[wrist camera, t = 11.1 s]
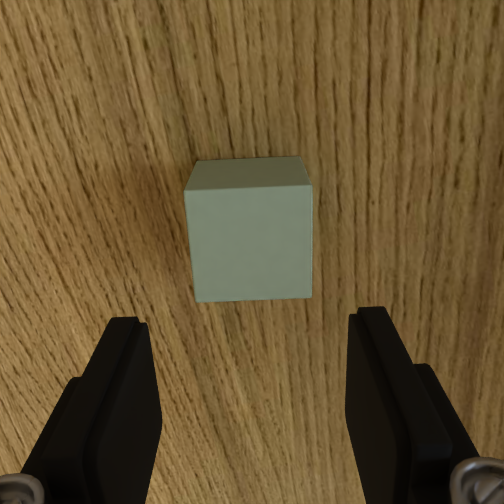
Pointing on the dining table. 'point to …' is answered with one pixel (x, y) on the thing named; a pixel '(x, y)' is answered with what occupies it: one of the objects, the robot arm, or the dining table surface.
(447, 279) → the dining table surface
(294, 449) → the dining table surface
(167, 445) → the dining table surface
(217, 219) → the block
